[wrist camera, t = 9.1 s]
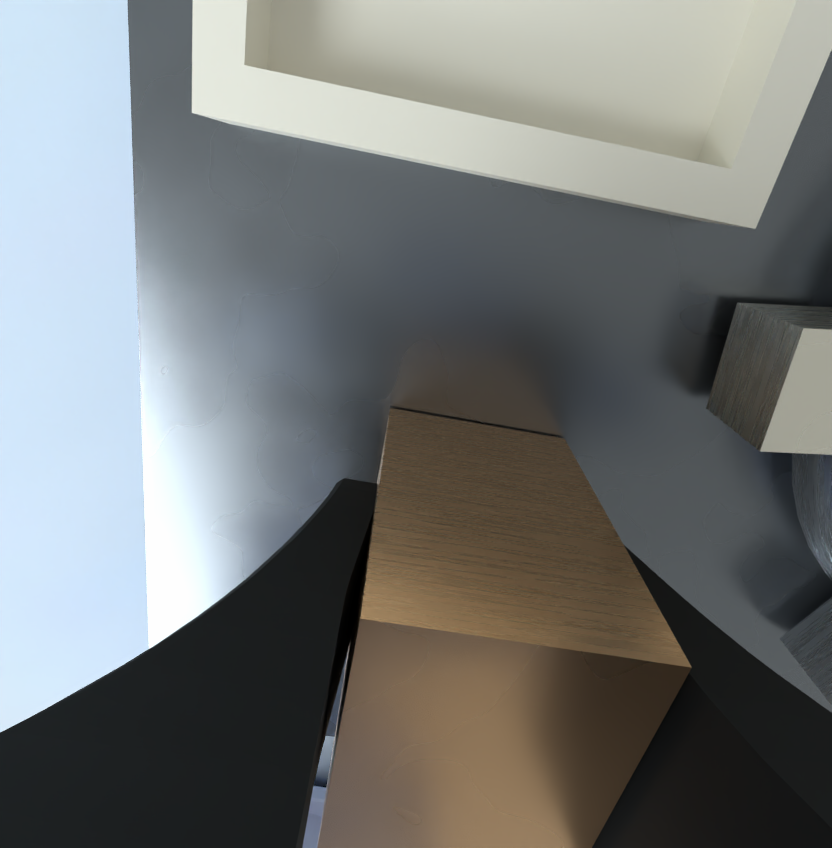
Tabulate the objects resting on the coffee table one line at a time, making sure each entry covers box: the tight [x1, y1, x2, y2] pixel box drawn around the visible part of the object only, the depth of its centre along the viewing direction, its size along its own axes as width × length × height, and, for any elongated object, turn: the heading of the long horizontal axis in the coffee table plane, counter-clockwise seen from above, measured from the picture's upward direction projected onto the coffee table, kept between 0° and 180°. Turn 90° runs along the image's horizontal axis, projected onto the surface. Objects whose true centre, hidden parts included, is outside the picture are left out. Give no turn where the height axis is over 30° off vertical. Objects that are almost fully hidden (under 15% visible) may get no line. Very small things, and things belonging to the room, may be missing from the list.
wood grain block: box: [317, 408, 692, 848], centre depth 8 cm, size 4×3×5 cm
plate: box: [128, 0, 832, 737], centre depth 10 cm, size 20×24×1 cm
